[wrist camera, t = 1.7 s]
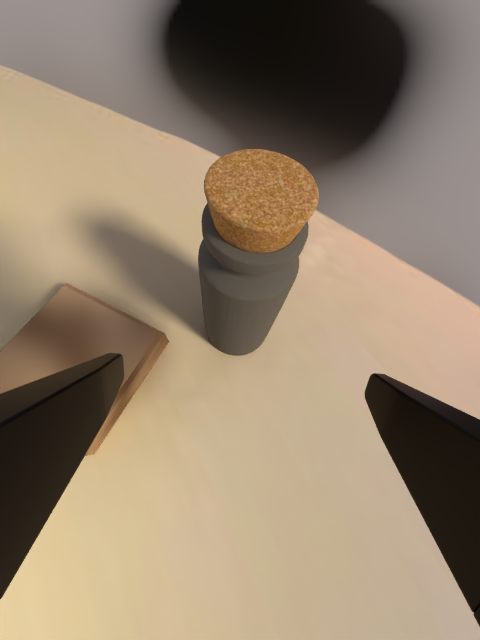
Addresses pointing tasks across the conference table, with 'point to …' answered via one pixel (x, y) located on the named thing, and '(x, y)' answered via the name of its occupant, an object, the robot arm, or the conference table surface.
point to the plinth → (81, 346)
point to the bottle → (251, 243)
